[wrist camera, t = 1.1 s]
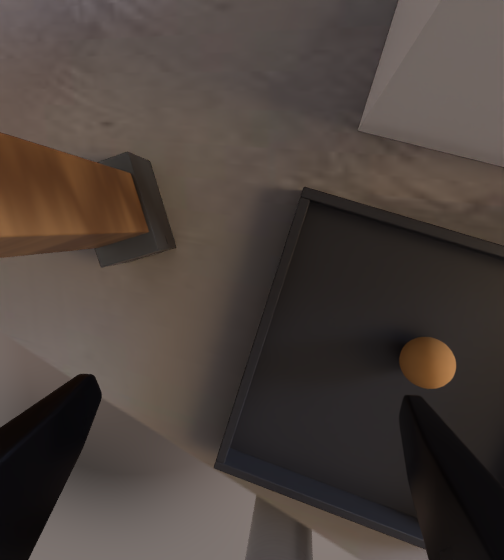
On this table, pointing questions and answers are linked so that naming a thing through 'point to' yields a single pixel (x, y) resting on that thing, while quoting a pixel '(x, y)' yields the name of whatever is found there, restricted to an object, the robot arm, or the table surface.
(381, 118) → the milk
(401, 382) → the pan
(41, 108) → the table surface
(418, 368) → the tan round ball
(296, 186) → the table surface
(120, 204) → the wooden block on stand
